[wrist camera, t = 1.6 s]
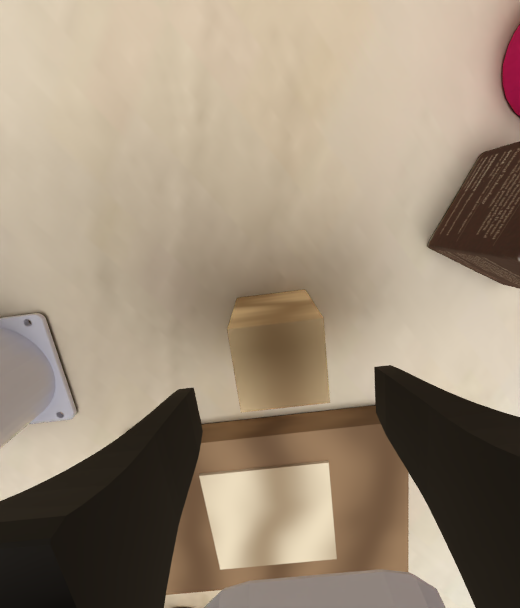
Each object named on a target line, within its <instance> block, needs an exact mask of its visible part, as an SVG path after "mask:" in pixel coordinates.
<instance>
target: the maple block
mask: <svg viewBox="0 0 520 608" xmlns="http://www.w3.org/2000/svg"><path fill="white" fill-rule="evenodd" d="M227 332H228V338H229V344H230V350H231V356H232V362H233V368H234V374H235V380H236V386H237V392H238V398H239V404H240V409H241V412H250V411H259V410H268V409H277V408H286V407H295V406H304V405H313V404H323V403H330V398H329V384H328V371H327V358H326V345H325V331H324V318H323V316H322V315H321V313H320V312H319V310H318V309H317V307H316V306H315V304H314V303H313V301H312V299H311V298H310V296H309V295H308V293H307V292H306V290H297V291H289V292H281V293H273V294H265V295H257V296H248V297H240V298H237V300H236V303H235V306H234V309H233V312H232V315H231V319H230V322H229V325H228V328H227Z"/></svg>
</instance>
